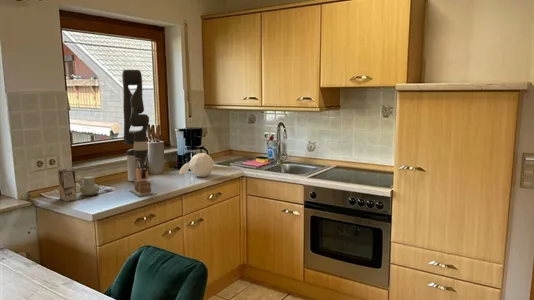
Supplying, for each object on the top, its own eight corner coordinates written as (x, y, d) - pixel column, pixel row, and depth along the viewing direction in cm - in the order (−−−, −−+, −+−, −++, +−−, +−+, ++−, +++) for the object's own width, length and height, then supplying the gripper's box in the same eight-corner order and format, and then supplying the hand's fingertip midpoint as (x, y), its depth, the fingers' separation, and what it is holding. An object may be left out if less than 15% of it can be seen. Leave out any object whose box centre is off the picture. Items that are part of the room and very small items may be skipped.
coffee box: (77, 199, 223) (75, 170, 220) (65, 201, 218) (62, 172, 216) (71, 196, 229) (69, 168, 227) (59, 198, 225) (57, 169, 222)
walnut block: (134, 190, 239) (134, 180, 238) (144, 188, 242) (144, 179, 241) (140, 193, 231) (140, 183, 230) (151, 192, 234) (150, 182, 233)
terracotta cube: (135, 178, 236) (135, 169, 235) (145, 177, 239) (144, 168, 238) (138, 180, 231) (138, 170, 231) (148, 179, 234) (147, 169, 234)
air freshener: (101, 194, 232) (100, 177, 230) (86, 197, 226) (85, 180, 225) (93, 191, 240) (92, 174, 238) (79, 193, 234) (78, 177, 232)
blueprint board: (129, 191, 240) (129, 189, 240) (146, 188, 246) (146, 187, 246) (138, 197, 227) (138, 195, 227) (156, 194, 232) (156, 193, 232)
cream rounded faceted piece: (210, 149, 272) (192, 145, 295) (185, 171, 264) (169, 165, 286) (222, 167, 280) (204, 161, 302) (199, 189, 271) (182, 181, 294)
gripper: (151, 149, 229) (152, 179, 231) (143, 146, 241) (144, 174, 243) (138, 151, 225) (139, 180, 227) (130, 147, 236) (131, 176, 239)
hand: (142, 177), depth 235 cm, fingers closed on terracotta cube, 5 cm apart
